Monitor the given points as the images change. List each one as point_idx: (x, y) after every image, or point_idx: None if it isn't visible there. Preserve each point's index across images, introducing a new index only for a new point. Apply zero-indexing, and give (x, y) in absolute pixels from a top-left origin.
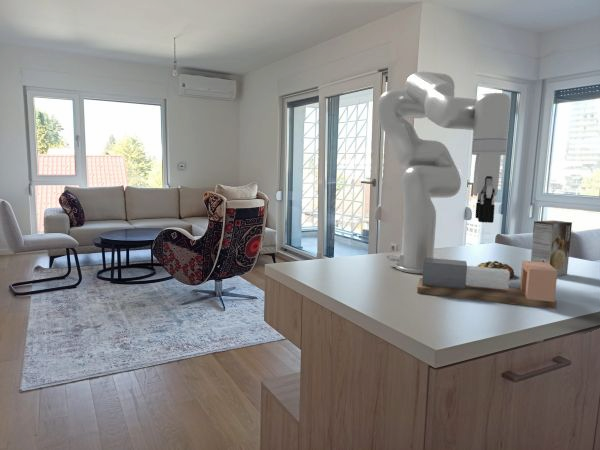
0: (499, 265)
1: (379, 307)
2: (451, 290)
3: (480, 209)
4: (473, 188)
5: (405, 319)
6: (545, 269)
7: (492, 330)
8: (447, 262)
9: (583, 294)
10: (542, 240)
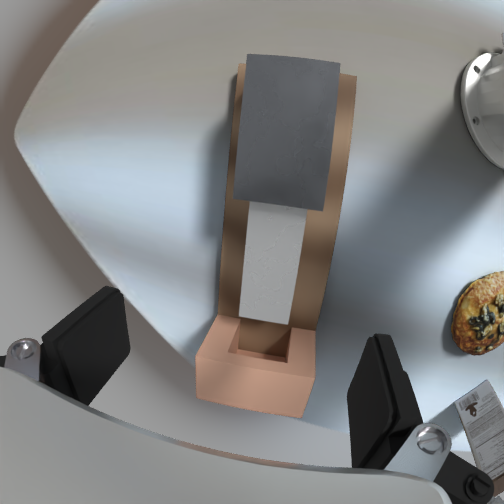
0: (480, 332)
1: (115, 23)
2: (232, 149)
3: (64, 327)
4: (109, 500)
5: (72, 77)
6: (202, 384)
7: (68, 206)
8: (268, 135)
9: (336, 420)
10: (493, 444)
